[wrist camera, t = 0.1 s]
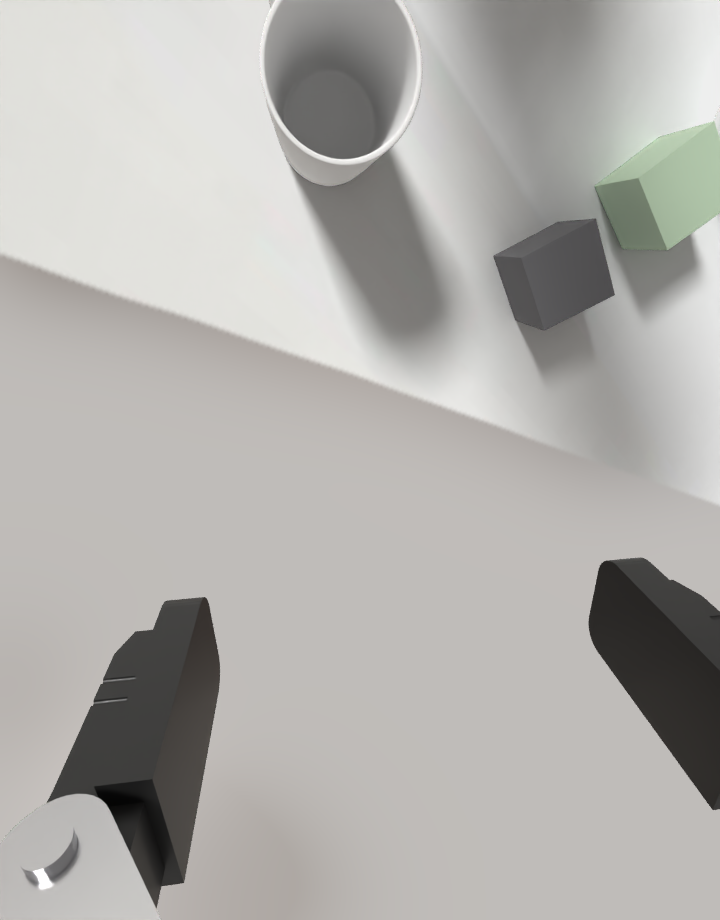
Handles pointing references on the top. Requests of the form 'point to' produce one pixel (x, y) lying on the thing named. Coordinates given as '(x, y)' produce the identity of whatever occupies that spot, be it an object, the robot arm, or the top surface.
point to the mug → (339, 82)
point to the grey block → (717, 121)
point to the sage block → (665, 189)
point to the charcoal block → (555, 273)
